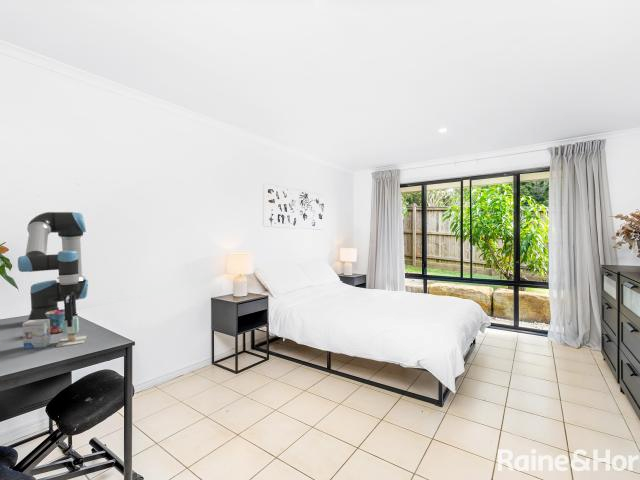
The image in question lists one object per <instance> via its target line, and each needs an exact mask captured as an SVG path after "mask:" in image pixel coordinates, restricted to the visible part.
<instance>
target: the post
mask: <svg viewBox="0 0 640 480" xmlns="http://www.w3.org/2000/svg"><path fill="white" fill-rule="evenodd" d="M76 334H77V333H71V334H67V337H65V338H60V340H59V341H58V343H57V344H56V346H55V348H63V347H68V346H69V347H70V346H74V345H80V344H81V345H82V344H83V343H84V342H85V340H86V339H87V336H88V335H87V334H86V335H79V336H78V335H76Z"/></svg>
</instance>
